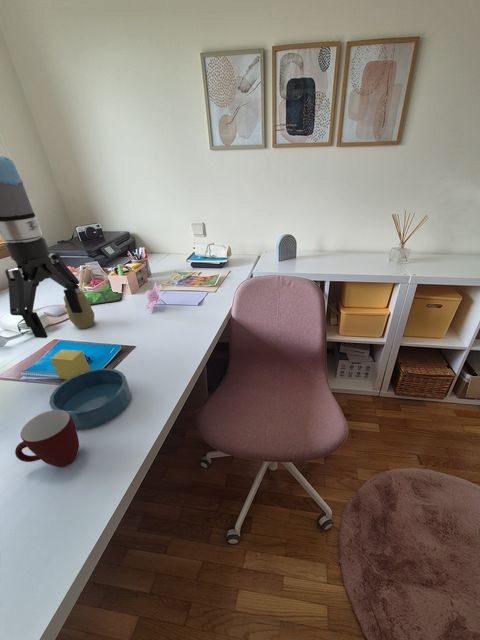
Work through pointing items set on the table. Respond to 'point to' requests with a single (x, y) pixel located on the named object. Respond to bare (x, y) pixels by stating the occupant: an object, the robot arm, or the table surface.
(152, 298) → the lily
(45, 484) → the table surface
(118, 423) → the table surface
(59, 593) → the table surface
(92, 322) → the squeeze bottle
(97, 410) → the bowl
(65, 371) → the sponge
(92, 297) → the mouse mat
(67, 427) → the mug
